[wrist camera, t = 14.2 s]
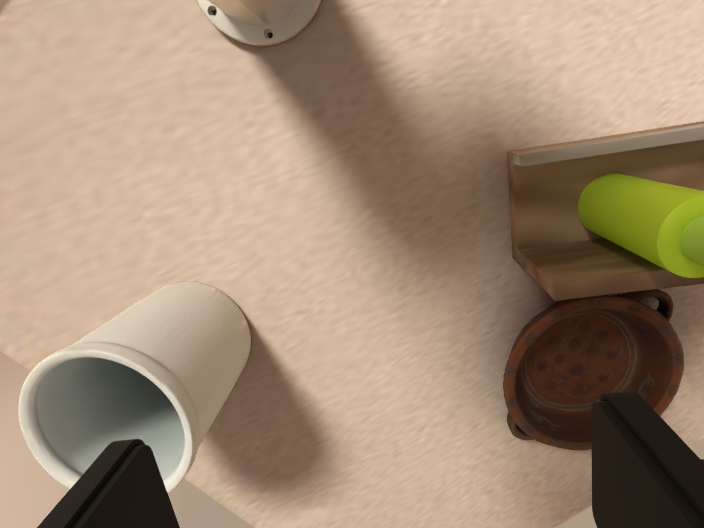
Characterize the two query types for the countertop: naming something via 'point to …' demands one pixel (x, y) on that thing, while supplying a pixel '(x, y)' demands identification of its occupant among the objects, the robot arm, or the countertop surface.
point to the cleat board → (562, 208)
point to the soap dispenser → (648, 220)
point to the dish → (589, 364)
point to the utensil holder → (138, 383)
